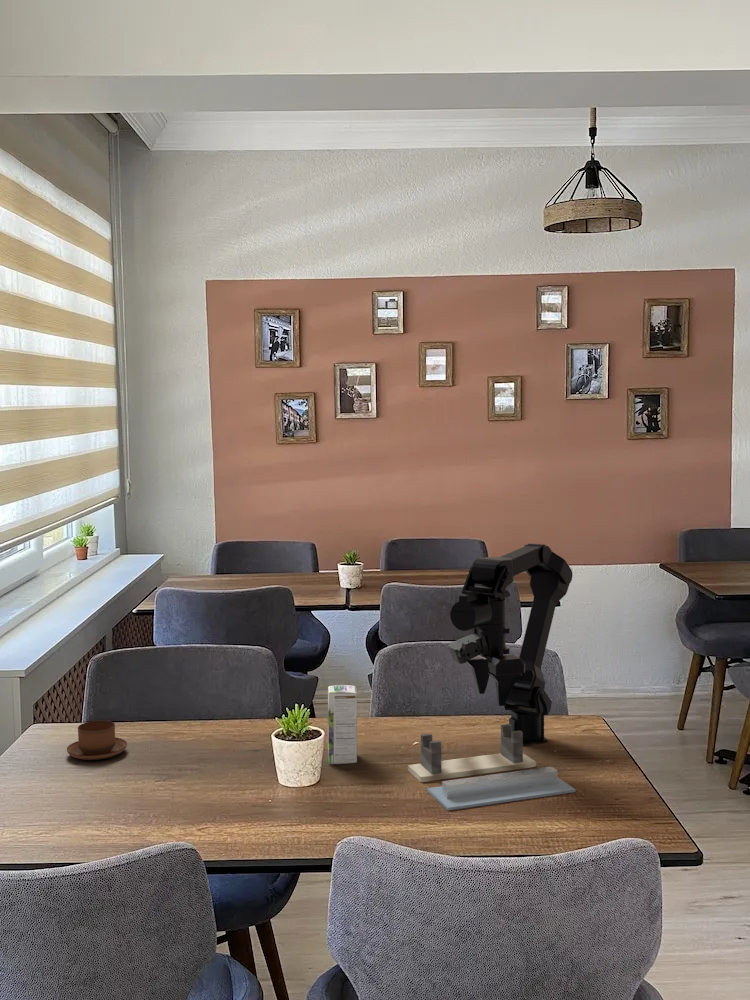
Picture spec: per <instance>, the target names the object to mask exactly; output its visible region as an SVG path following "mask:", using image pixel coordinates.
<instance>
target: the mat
mask: <svg viewBox="0 0 750 1000" xmlns="http://www.w3.org/2000/svg"><path fill="white" fill-rule="evenodd" d="M426 791H427V792H428V793H429V795H431V796H432V798H434V800H436V801H437V802H438V803H439V804H440V805H441V806H442V807H443V808H444V809H445V810H447V811H455V810H462V809H468V808H476V807H482V806H483V807H484V806H488V805H489V806H491V805H495V804H502V803H509V802H517V801H523V800H530V799H536V798H537V799H538V798H543V797H544V798H545V797H550V796H551V797H552V796H558V795H565V794H572V793H576V789H575V788H574V787H573V786H571V785H570V784H569V783H567V782H566V781H564V780H563V779H561V778H559V777H558V783H557V784H550V785H543V786H536V787H529V788H522V789H515V790H508V791H501V792H494V793H487V794H479V795H472V796H465V797H458V798H451V799H447V798H445V797H444V796H443V795H442V785H441V786H434V787H433V786H432V787H427V788H426Z"/></svg>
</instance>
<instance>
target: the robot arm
mask: <svg viewBox="0 0 750 1000" xmlns="http://www.w3.org/2000/svg"><path fill="white" fill-rule="evenodd" d="M523 572H526V574H527V575H528V577H529V578H530V579H529V586H530V589H531V592H532V595H533V598H532V603H531V608H530V612H529V616H528V620H527V624H526V628H525V633H524V636H523V639H522V640H523V641H522V644H521V647H520V652H519V653H520V654H519V656H517V655H516V654H510V648H508V647H506V643H507V641H506V634H510V627H507V626H506V598H509V597H510V596H511V593H510V591H509V590H507V588H508V587H509V586H510V585H511V584H513V583H514V577H516V576H517V575H519V574H521V573H523ZM572 580H573V570H572V568H571V567H570V565H569V564H568V562H567V560H566V559H564V558H563V557H562V556H560V555H558V554H556V553H555V552H553V550H552V549H551V548H550V546H548V545H546V544H544V543H543V544H541V543H530V542H529V543H528V544H524V545H523V546H522V547H520V548H518V549H515V550H514V551H511V552H509V553H506V554H504V555H501V556H497V557H493V556H490V557H488V556H486V557H478V558H476V559H475V560H474V561H473V562H472V564H471V566H470V568H469V571H468V573H467V576H466V579H465V582H464V584H463V588H462V589H461V594H459V596H458V601H457V602H455V603H454V604H453V605H452V606H451V607H452V608H451V610H450V612H449V615H450V620H451V623H452V625H453V627H455V628H456V629H457V630H459V631H461V632H467V631H471V634H469V635H467V636H464V637H460V638H459V639H457V640H455V641H452V642H450V643H449V644H448V645H447V647H448V651H449V653H450V656H451V658H452V660H453V661H454V662H456V663H458V664H460V665H462V664H465V663H466V664H468V666H470V668H471V670H472V673H473V678H474V680H475V683H476V688H477V690H478V694H479V695H484V694H485V693H486V690H487V687H488V684H489V683H488V682H489V680H490V677H491V678H492V679H494V683H495V691H496V698H497V705H498V706H499V707H504V710H505V711H510V717H509V718H508V724H511V725H512V731H522V732H523V746H525V745H532V744H534V745H535V744H541V743H547V742H549V739H548V738H547V737H546V736H545V716H548V715H550V712H551V711H552V710H551V709H552V704H553V703H552V699H551V698H550V697H549V696H548V693H547V692H546V690H545V687H546V681H545V678H544V674H543V672H542V665H543V661H544V655H545V652H546V648H547V644H548V640H549V635H550V632H551V627H552V622H553V619H554V615H555V610H556V607H557V604H558V603H559V602H560V601H561V600H562V599H563V598H564V597H565V596H566V595H567V593H568V590H569V586H570V584H571V583H572Z"/></svg>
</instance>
